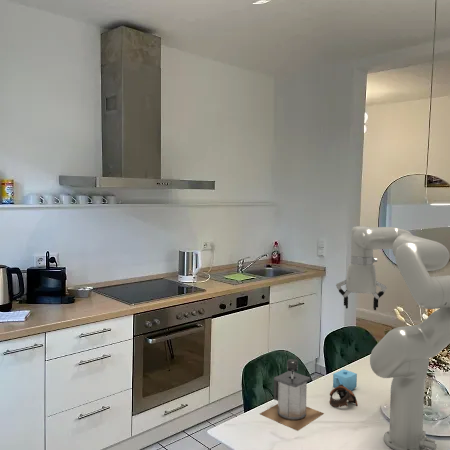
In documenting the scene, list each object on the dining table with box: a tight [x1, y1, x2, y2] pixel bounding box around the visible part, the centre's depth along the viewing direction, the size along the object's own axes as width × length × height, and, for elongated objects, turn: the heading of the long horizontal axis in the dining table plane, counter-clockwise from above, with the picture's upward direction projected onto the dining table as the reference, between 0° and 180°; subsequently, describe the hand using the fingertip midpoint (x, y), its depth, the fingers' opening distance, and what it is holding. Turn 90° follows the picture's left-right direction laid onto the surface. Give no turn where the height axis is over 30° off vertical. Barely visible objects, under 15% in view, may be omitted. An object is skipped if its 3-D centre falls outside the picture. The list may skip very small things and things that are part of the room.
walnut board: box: [259, 403, 325, 432], centre depth 155 cm, size 16×16×1 cm
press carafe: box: [273, 370, 311, 421], centre depth 156 cm, size 12×10×13 cm
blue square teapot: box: [332, 369, 358, 392], centre depth 177 cm, size 12×6×8 cm, turn 131°
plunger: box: [286, 358, 299, 379], centre depth 155 cm, size 7×7×16 cm
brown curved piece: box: [329, 384, 359, 408], centre depth 164 cm, size 12×10×8 cm
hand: (360, 308), depth 161 cm, fingers open, 9 cm apart
